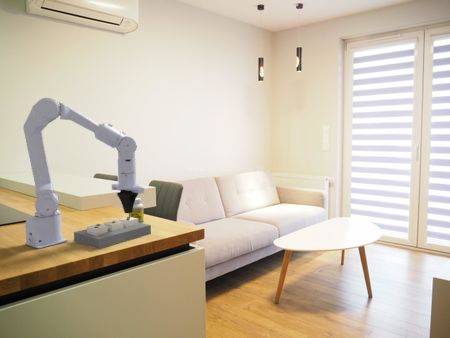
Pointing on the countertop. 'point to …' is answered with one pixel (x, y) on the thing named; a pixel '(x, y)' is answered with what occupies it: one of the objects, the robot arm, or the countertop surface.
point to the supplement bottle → (137, 211)
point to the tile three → (129, 221)
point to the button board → (112, 236)
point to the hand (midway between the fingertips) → (128, 212)
